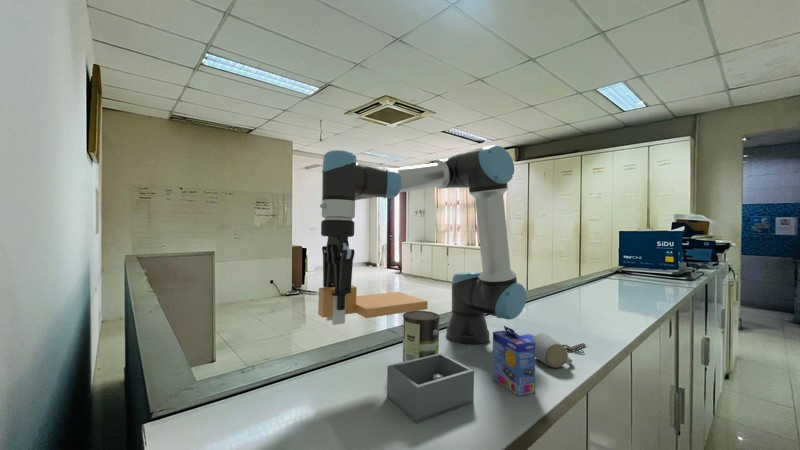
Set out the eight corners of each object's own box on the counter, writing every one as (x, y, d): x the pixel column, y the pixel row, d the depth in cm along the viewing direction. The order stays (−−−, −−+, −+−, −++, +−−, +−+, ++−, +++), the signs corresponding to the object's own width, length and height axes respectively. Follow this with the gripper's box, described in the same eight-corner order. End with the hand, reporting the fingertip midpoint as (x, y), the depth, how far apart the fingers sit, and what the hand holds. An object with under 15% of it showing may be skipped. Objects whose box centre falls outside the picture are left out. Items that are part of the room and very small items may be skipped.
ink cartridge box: (490, 378, 84) (491, 322, 84) (507, 375, 86) (509, 320, 86) (517, 397, 75) (518, 334, 75) (535, 393, 77) (537, 332, 77)
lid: (398, 298, 92) (398, 277, 92) (427, 309, 81) (428, 285, 81) (310, 309, 78) (311, 284, 78) (331, 323, 67) (332, 294, 67)
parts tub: (440, 380, 82) (440, 353, 82) (473, 402, 72) (474, 370, 72) (386, 396, 74) (387, 365, 74) (416, 423, 64) (417, 387, 64)
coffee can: (439, 359, 95) (441, 311, 96) (436, 375, 85) (438, 321, 85) (405, 356, 97) (406, 309, 98) (398, 370, 87) (399, 318, 88)
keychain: (600, 349, 108) (600, 344, 108) (570, 360, 98) (570, 355, 98) (576, 342, 115) (576, 337, 115) (547, 352, 105) (547, 347, 105)
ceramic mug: (546, 370, 90) (547, 342, 90) (528, 358, 98) (529, 333, 98) (579, 369, 92) (580, 341, 92) (560, 357, 100) (561, 332, 100)
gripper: (310, 219, 79) (308, 315, 79) (336, 218, 66) (333, 334, 66) (339, 220, 84) (337, 311, 83) (369, 219, 70) (366, 328, 70)
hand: (335, 321), depth 75 cm, fingers closed on lid, 3 cm apart
